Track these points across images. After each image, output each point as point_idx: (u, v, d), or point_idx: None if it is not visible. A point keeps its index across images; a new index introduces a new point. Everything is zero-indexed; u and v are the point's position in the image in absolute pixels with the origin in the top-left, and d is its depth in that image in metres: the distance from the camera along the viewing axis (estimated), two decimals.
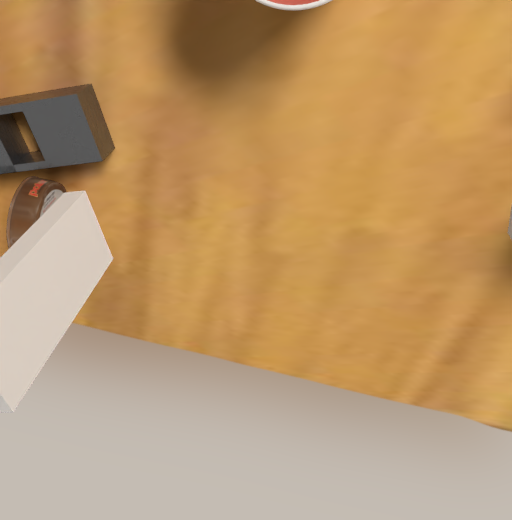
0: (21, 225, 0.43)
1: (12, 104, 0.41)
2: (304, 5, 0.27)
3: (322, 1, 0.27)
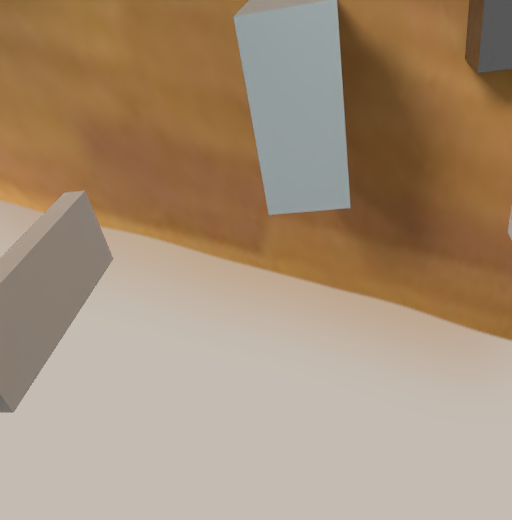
0: None
1: None
2: None
3: None
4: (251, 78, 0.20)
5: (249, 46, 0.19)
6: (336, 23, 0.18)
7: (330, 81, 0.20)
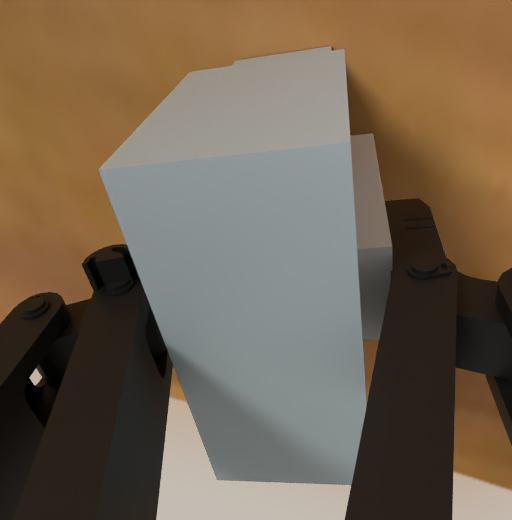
0: None
1: None
2: None
3: None
4: (157, 285, 0.09)
5: (145, 229, 0.08)
6: (348, 194, 0.07)
7: (333, 301, 0.09)
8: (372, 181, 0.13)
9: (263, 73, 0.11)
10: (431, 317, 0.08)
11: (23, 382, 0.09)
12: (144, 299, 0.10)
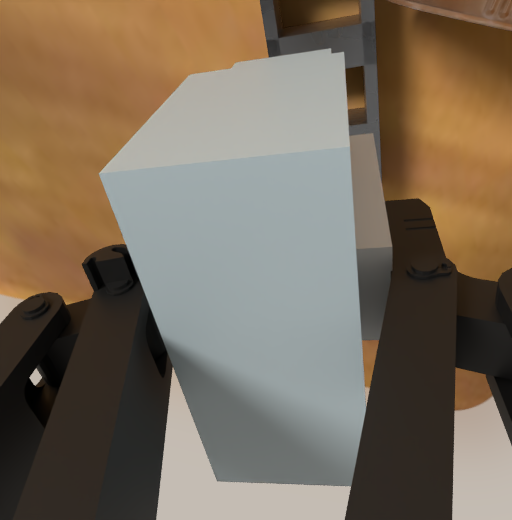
0: None
1: None
2: None
3: None
4: (158, 287, 0.09)
5: (145, 232, 0.08)
6: (348, 197, 0.07)
7: (333, 304, 0.09)
8: (372, 181, 0.13)
9: (263, 76, 0.11)
10: (431, 317, 0.08)
11: (23, 382, 0.09)
12: (144, 299, 0.10)
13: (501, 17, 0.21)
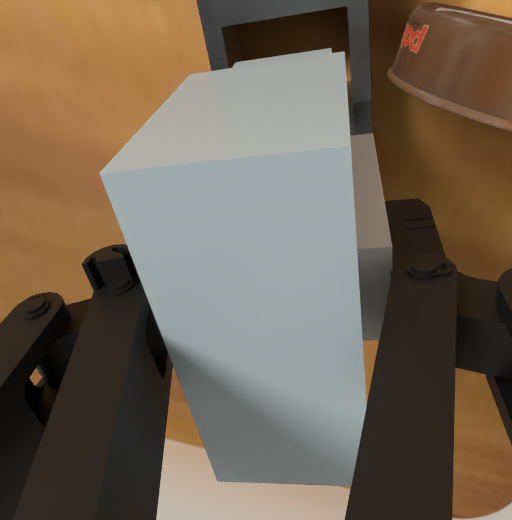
0: (500, 77, 0.13)
1: (208, 49, 0.18)
2: None
3: None
4: (158, 287, 0.09)
5: (145, 232, 0.08)
6: (349, 197, 0.07)
7: (334, 304, 0.09)
8: (372, 181, 0.13)
9: (263, 76, 0.11)
10: (431, 317, 0.08)
11: (22, 382, 0.09)
12: (144, 299, 0.10)
13: None
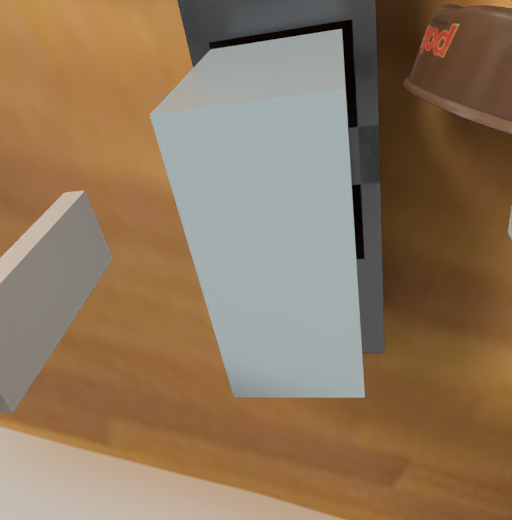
0: None
1: None
2: None
3: None
4: (191, 213, 0.11)
5: (184, 165, 0.10)
6: (344, 131, 0.10)
7: (333, 224, 0.11)
8: None
9: (274, 48, 0.13)
10: None
11: None
12: None
13: None
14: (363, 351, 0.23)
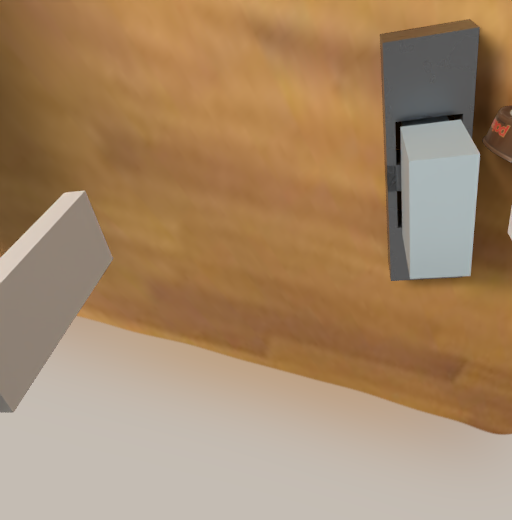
0: None
1: (386, 132, 0.35)
2: None
3: None
4: (414, 196, 0.30)
5: (416, 178, 0.30)
6: (477, 167, 0.29)
7: (468, 199, 0.30)
8: None
9: (434, 129, 0.32)
10: None
11: None
12: None
13: None
14: None
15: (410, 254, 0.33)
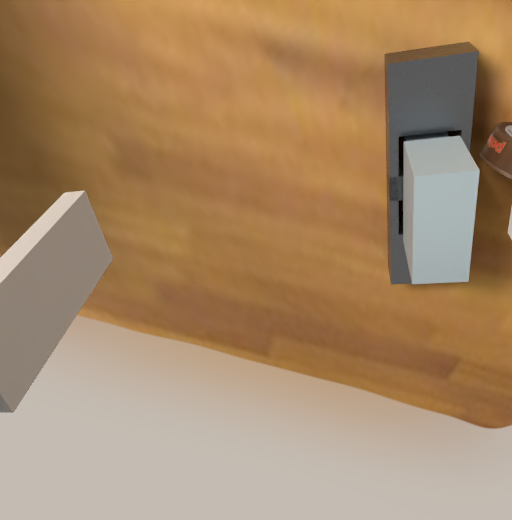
0: None
1: (389, 145, 0.38)
2: None
3: None
4: (417, 208, 0.33)
5: (420, 192, 0.32)
6: (477, 182, 0.31)
7: (468, 211, 0.32)
8: None
9: (436, 145, 0.35)
10: None
11: None
12: None
13: None
14: None
15: (413, 261, 0.35)
